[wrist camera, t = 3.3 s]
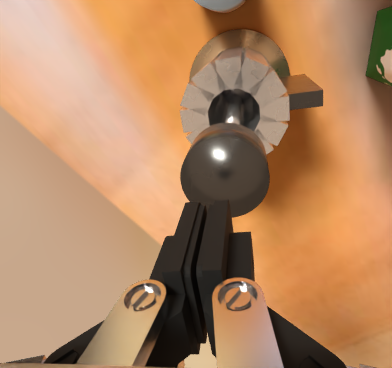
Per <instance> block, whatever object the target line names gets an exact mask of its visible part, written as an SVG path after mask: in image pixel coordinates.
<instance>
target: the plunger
mask: <svg viewBox="0 0 392 368" xmlns="http://www.w3.org/2000/svg"><path fill="white" fill-rule="evenodd" d="M241 106H242V99H241V97H240V96H238V95H234V96H232V97H231V99H230V103H229V107H228V111H227V116H226V120H225V123H218V124H215V125H212V126H210V127H208V128H206V129H204V130H203V131H202V132H201V133H199V135H198V136H197V137H196V138H195V140H194V141H193V143H192V145H191V147H190V149H189V152H188V154H187V156H186V158H185V160H184V162H183V165H182V168H181V178H180V179H181V185H182V189H183V191H184V193H185V195H186V197H187V198H188V200H189V201H190V202H200V203H201V205H206V208H207V213H208V208H209V205H211V204H214V201H215V200H229V203H230V210H231V218H232V217H238V216H241V215H244V214H246V213H248V212H250V211H252V210H253V209H255V208H256V207H257V206H258V205H259V204H260V203H261V202H262V200H263V199H264V197H265V195H266V193H267V191H268V188H269V170H268V163H267V156H266V151H265V147H264V145H263V143H262V141H261V140H260V138H259V137H258V136H257V135H256V134H255V133H254V132H253V131H252V130H250V129H249V128H247V127H245V126H243V125H240V120H241Z"/></svg>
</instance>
